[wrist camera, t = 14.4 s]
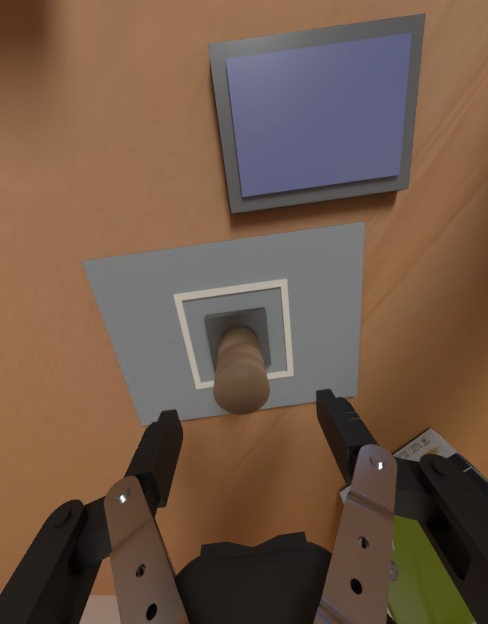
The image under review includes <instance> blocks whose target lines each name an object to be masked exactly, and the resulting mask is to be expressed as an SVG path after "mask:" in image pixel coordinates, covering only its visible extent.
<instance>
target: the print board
mask: <svg viewBox="0 0 488 624" xmlns="http://www.w3.org/2000/svg"><path fill="white" fill-rule="evenodd" d="M364 232H365V222H357V223H350V224H343V225H336V226H328V227H321V228H314V229H307V230H300V231H293V232H286V233H279V234H271V235H264V236H257V237H250V238H243V239H236V240H229V241H222V242H214V243H207V244H200V245H193V246H186V247H179V248H172V249H165V250H157V251H150V252H143V253H136V254H129V255H122V256H115V257H108V258H100V259H93V260H86V261H82V264H83V266H84V269H85V272H86V275H87V277H88V280H89V283H90V286H91V288H92V291H93V294H94V296H95V299H96V302H97V305H98V307H99V310H100V313H101V316H102V318H103V321H104V324H105V327H106V329H107V332H108V335H109V338H110V340H111V343H112V346H113V348H114V351H115V354H116V357H117V359H118V362H119V365H120V368H121V370H122V373H123V376H124V379H125V381H126V384H127V387H128V390H129V392H130V395H131V398H132V400H133V403H134V406H135V409H136V411H137V414H138V417H139V420H140V422H141V425H142V426H146V425H150V424H151V423H152V422H157V421H158V418H159V416H160V413H161V412H162V411H165V410H173V409H176V410H177V413H178V416H179V419H180V421H181V420H189V419H196V418H203V417H210V416H217V415H225V414H232V413H229V412H227V411H225V410H223V409H222V408H221V407H220V406H219V405H218V404H217V403H216V401H215V399H214V395H213V388H214V381H215V373H216V372H214V367H213V362H212V357H211V352H210V347H209V342H208V337H207V332H206V326H205V321H204V318H205V315H207V314H215V313H222V312H230V311H237V310H245V309H252V308H260V307H265V310H266V315H267V326H268V336H269V346H270V356H271V365H266V366H265V369H266V373H267V378H268V382H269V386H270V395H269V398H268V400H267V402H266V403H265V404H264V405H263V406H262V407H261V408H260V409H268V408H275V407H282V406H289V405H296V404H304V403H311V402H316V390H322V389H331V390H332V392H333V394H334V395H335V397H336V398H337V397H343V398H347V397H354V396H358V373H359V349H360V326H361V302H362V279H363V256H364ZM260 409H258V410H260Z"/></svg>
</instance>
